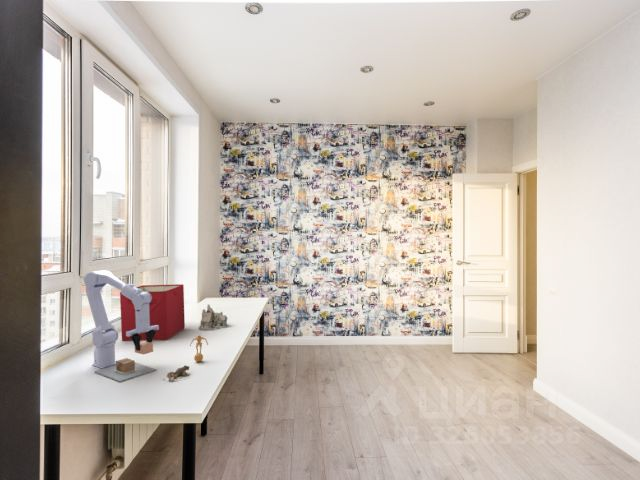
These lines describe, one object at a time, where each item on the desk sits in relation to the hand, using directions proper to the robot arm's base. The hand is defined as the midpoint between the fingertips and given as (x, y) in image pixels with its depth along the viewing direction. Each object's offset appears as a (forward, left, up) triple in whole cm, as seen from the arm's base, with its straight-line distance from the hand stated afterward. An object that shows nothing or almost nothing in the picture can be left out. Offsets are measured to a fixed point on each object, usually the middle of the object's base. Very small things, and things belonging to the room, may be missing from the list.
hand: (143, 348), depth 171 cm
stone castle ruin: (-33, +66, -9) cm, 74 cm away
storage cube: (-51, +36, -9) cm, 63 cm away
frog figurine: (+24, +1, -9) cm, 26 cm away
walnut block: (-1, -8, -8) cm, 11 cm away
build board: (-2, -8, -8) cm, 11 cm away
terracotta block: (0, 0, -1) cm, 1 cm away
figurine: (+15, +18, -9) cm, 25 cm away
